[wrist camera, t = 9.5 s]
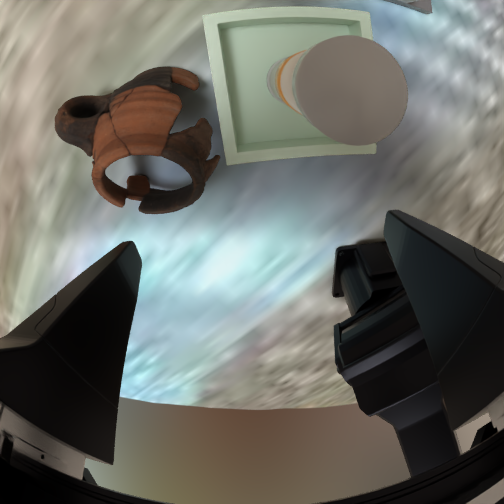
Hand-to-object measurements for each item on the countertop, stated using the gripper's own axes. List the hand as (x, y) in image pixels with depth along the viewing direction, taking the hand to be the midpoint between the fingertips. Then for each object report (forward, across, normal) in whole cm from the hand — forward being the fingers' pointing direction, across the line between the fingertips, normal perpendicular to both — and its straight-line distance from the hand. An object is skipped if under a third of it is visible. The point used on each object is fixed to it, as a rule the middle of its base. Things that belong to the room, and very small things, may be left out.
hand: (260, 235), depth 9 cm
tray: (+13, -4, -4) cm, 14 cm away
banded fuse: (+12, -3, -4) cm, 14 cm away
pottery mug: (+13, +7, -3) cm, 15 cm away
